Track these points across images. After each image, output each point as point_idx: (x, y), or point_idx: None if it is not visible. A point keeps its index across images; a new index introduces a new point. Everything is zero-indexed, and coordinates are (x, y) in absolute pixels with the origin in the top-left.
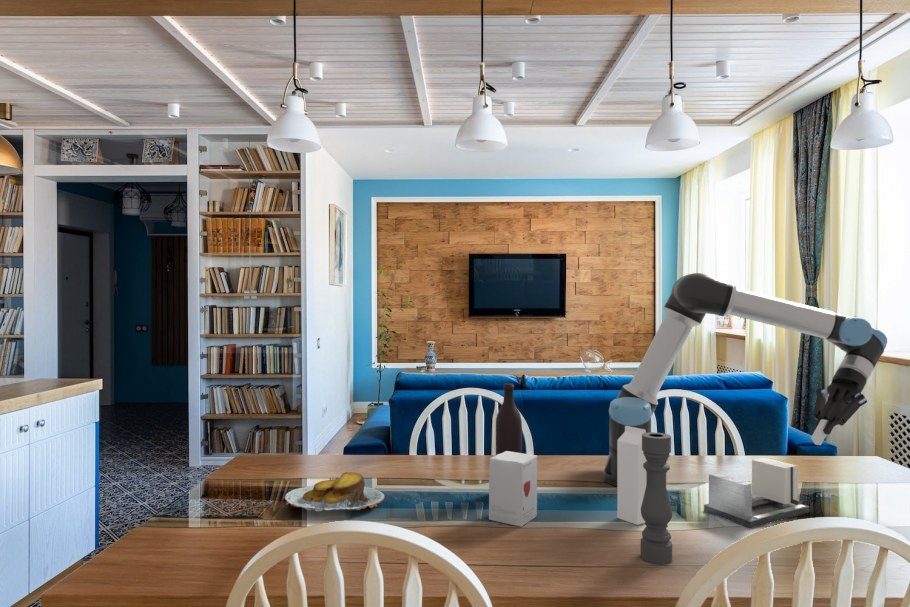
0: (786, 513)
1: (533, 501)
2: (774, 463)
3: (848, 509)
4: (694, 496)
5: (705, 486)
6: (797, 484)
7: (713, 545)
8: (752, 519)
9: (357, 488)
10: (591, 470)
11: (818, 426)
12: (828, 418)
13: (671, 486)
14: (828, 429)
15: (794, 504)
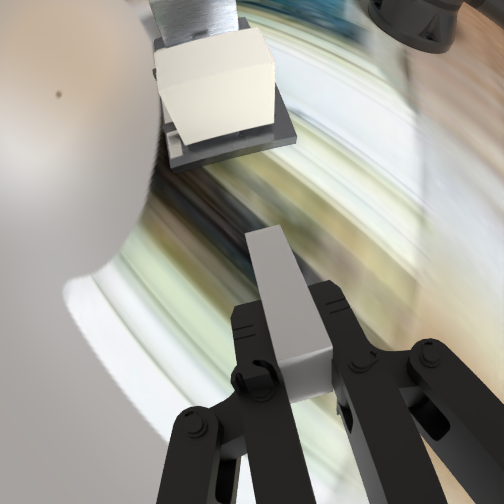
0: (161, 104)
1: None
2: (204, 51)
3: (165, 285)
4: (324, 44)
5: (387, 93)
6: (173, 122)
7: (137, 5)
8: (158, 44)
9: None
10: (457, 24)
11: (295, 287)
12: (248, 359)
13: (385, 49)
14: (232, 324)
15: (192, 145)
